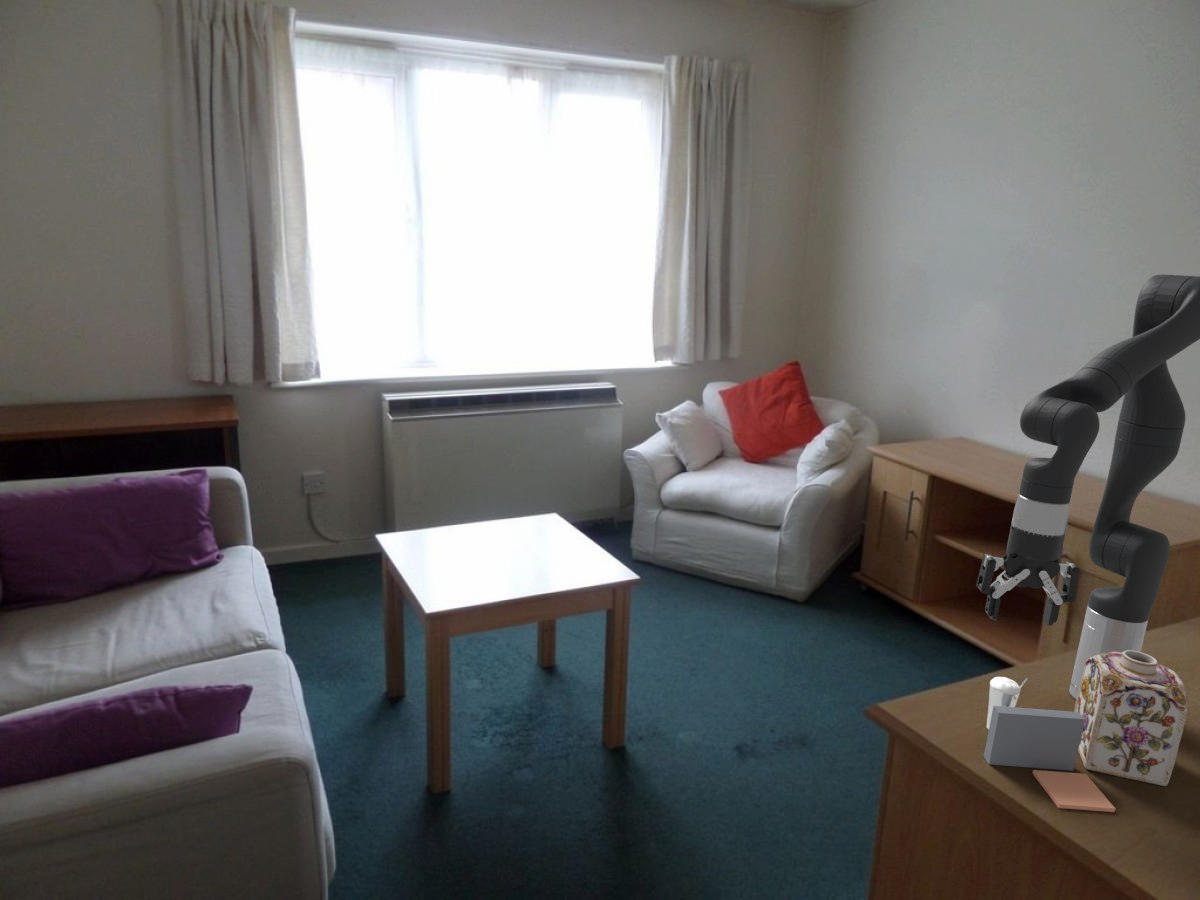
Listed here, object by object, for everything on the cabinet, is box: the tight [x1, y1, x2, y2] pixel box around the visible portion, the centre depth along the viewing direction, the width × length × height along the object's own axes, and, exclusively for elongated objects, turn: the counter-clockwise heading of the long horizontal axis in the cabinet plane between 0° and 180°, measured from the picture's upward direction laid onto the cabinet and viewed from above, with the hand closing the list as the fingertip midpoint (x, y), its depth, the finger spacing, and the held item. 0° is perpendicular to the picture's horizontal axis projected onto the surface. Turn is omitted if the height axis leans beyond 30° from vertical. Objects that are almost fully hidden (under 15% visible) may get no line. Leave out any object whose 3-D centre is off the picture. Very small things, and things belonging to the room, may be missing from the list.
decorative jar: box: [1073, 650, 1189, 787], centre depth 129 cm, size 12×12×18 cm
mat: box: [1032, 769, 1116, 813], centre depth 122 cm, size 8×8×1 cm
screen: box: [983, 706, 1085, 772], centre depth 128 cm, size 13×2×9 cm, turn 88°
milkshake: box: [986, 676, 1029, 730], centre depth 136 cm, size 4×5×10 cm
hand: (1019, 620), depth 132 cm, fingers open, 8 cm apart
